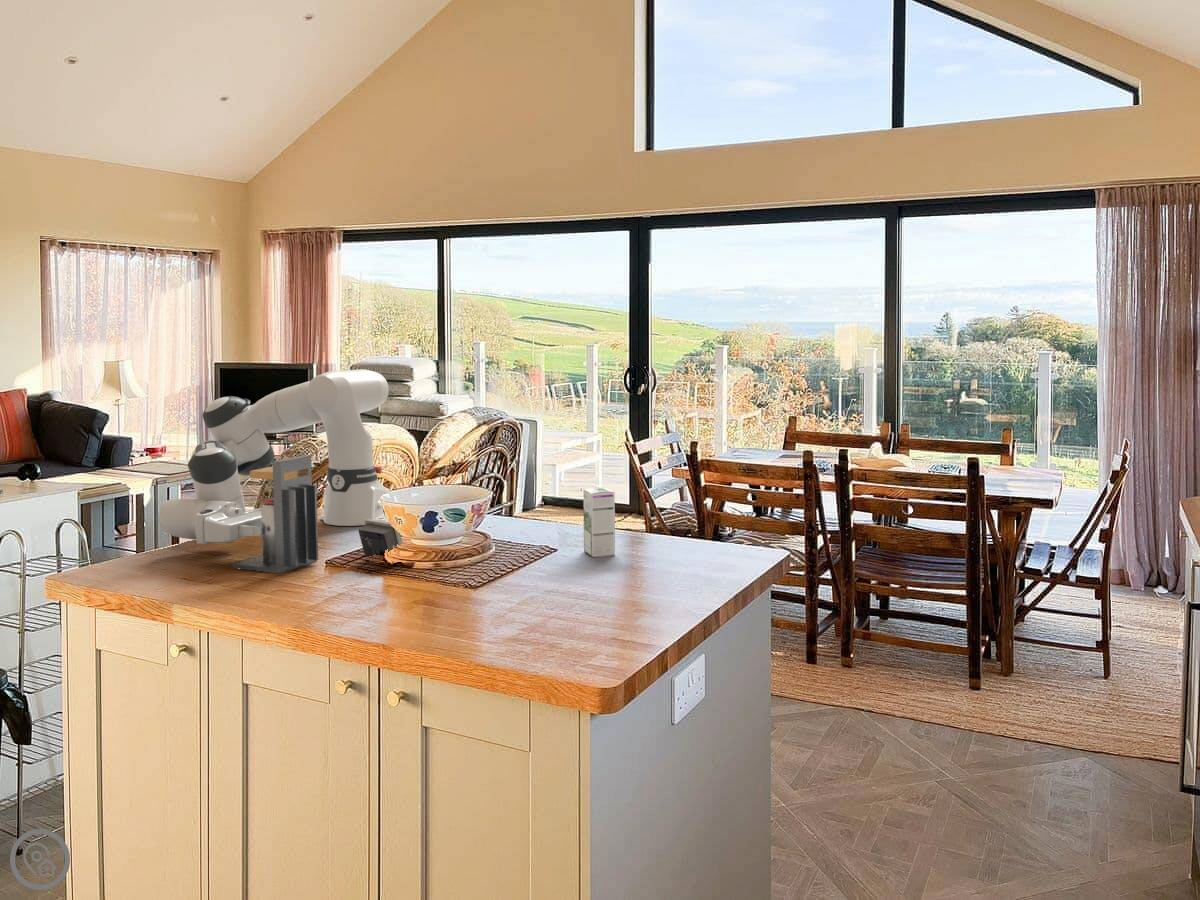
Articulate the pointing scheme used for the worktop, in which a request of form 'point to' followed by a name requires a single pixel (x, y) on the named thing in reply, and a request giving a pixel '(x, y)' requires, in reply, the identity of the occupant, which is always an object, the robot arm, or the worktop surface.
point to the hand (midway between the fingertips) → (277, 526)
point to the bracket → (290, 516)
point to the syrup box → (599, 522)
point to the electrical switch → (378, 537)
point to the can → (268, 530)
